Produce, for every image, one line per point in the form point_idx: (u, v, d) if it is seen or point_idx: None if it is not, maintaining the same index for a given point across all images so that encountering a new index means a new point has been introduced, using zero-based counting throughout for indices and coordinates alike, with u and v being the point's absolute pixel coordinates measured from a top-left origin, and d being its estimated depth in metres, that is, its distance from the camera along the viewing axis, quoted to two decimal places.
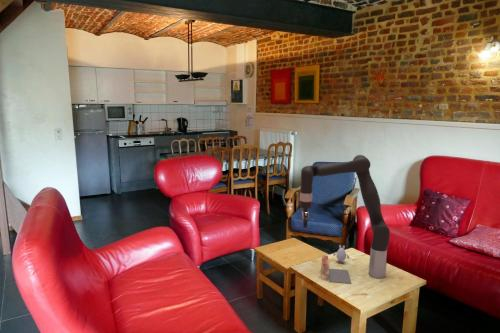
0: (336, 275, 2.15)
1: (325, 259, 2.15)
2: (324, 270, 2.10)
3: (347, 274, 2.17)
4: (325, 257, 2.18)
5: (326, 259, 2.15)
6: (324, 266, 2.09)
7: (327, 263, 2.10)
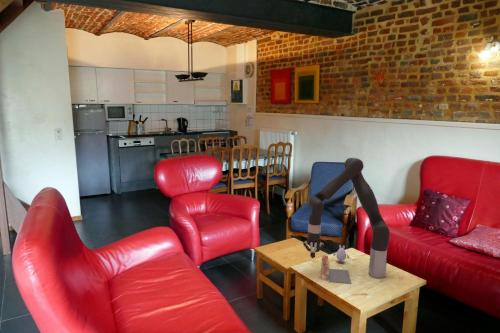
0: (336, 275, 2.15)
1: (325, 259, 2.15)
2: (324, 270, 2.10)
3: (347, 274, 2.17)
4: (325, 257, 2.18)
5: (326, 259, 2.15)
6: (324, 266, 2.09)
7: (327, 263, 2.10)
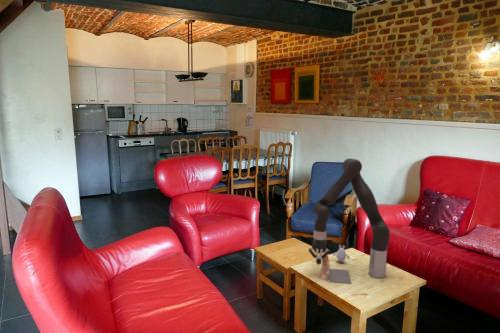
0: (336, 275, 2.15)
1: (325, 259, 2.15)
2: (324, 270, 2.10)
3: (347, 274, 2.17)
4: (325, 257, 2.18)
5: (326, 259, 2.15)
6: (324, 266, 2.09)
7: (327, 263, 2.10)
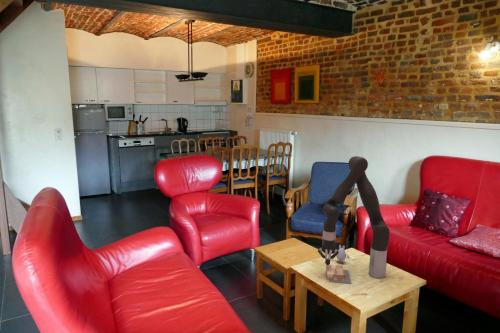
0: None
1: None
2: (337, 276, 2.09)
3: (347, 274, 2.17)
4: None
5: None
6: (342, 276, 2.09)
7: None
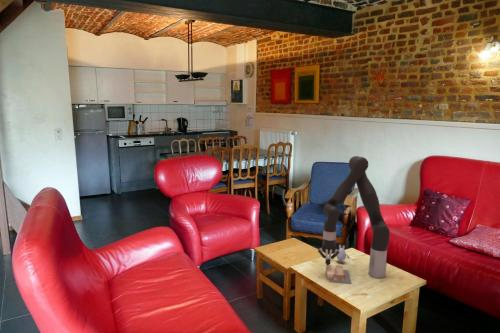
0: None
1: None
2: (337, 276, 2.09)
3: (347, 274, 2.17)
4: None
5: None
6: (342, 276, 2.09)
7: None
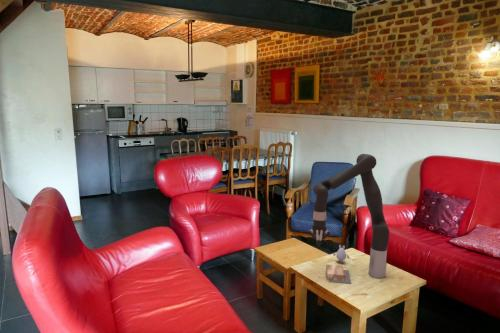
0: None
1: None
2: (337, 276, 2.09)
3: (347, 274, 2.17)
4: None
5: None
6: (342, 276, 2.09)
7: None
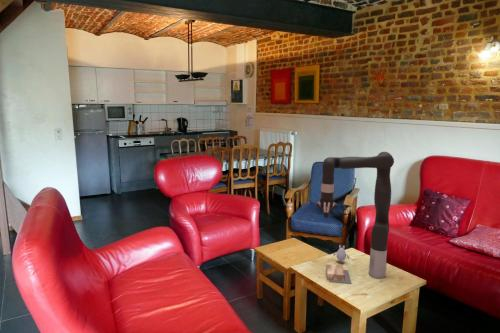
0: None
1: None
2: (337, 276, 2.09)
3: (347, 274, 2.17)
4: None
5: None
6: (342, 276, 2.09)
7: None
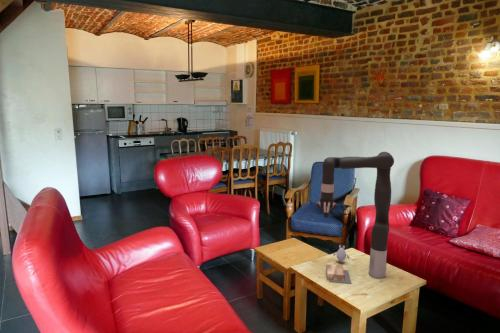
0: None
1: None
2: (337, 276, 2.09)
3: (347, 274, 2.17)
4: None
5: None
6: (342, 276, 2.09)
7: None
